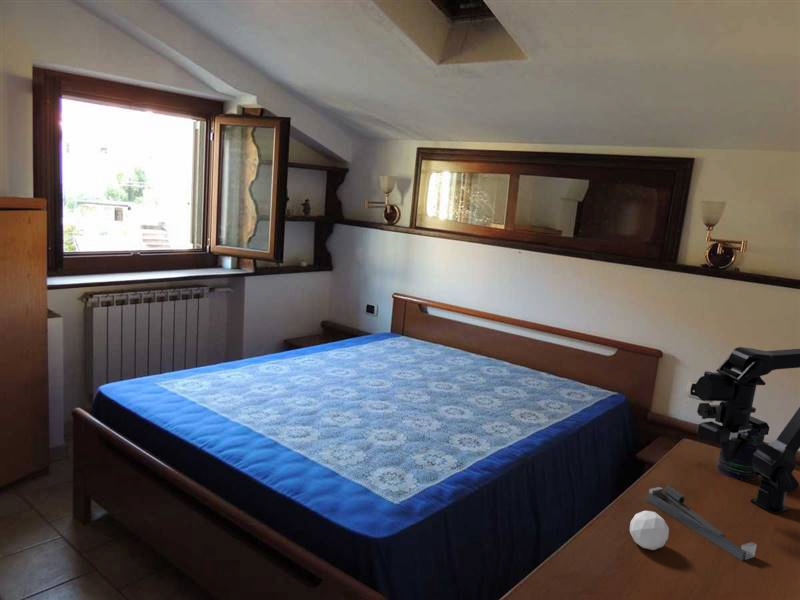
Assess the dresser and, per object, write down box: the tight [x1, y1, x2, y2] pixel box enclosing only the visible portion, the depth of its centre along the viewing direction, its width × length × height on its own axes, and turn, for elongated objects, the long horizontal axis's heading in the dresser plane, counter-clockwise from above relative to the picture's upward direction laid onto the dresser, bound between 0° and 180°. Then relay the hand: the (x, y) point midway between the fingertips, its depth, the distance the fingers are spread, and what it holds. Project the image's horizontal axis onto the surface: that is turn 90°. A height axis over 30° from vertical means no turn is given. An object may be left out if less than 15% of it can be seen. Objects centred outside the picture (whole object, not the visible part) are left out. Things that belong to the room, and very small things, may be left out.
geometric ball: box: [629, 510, 670, 551], centre depth 135 cm, size 8×8×8 cm
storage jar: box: [716, 429, 766, 481], centre depth 175 cm, size 10×10×15 cm
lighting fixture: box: [661, 485, 726, 538], centre depth 148 cm, size 19×3×4 cm, turn 16°
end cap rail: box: [645, 486, 757, 561], centre depth 145 cm, size 4×26×3 cm, turn 26°
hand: (727, 461), depth 153 cm, fingers closed
